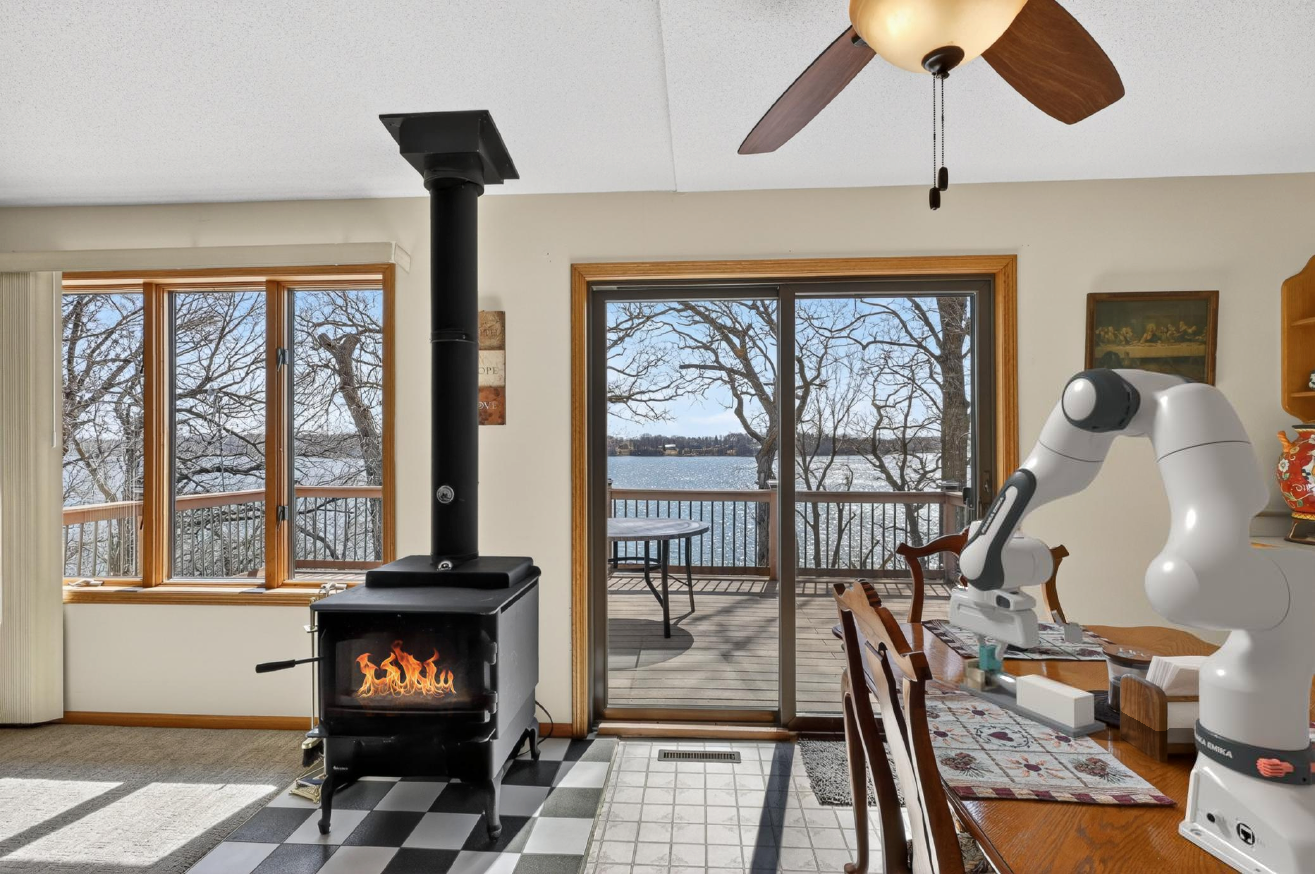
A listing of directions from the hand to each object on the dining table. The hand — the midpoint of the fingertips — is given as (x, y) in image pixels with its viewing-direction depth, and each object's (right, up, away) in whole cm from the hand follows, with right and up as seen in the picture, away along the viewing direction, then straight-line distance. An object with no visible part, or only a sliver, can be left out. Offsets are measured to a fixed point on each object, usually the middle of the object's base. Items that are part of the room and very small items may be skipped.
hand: (990, 657), depth 141 cm
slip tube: (+2, -6, -5) cm, 8 cm away
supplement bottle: (+22, -8, +31) cm, 39 cm away
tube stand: (+3, -8, -8) cm, 11 cm away
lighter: (+39, -8, +37) cm, 55 cm away
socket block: (-1, -7, +2) cm, 7 cm away
